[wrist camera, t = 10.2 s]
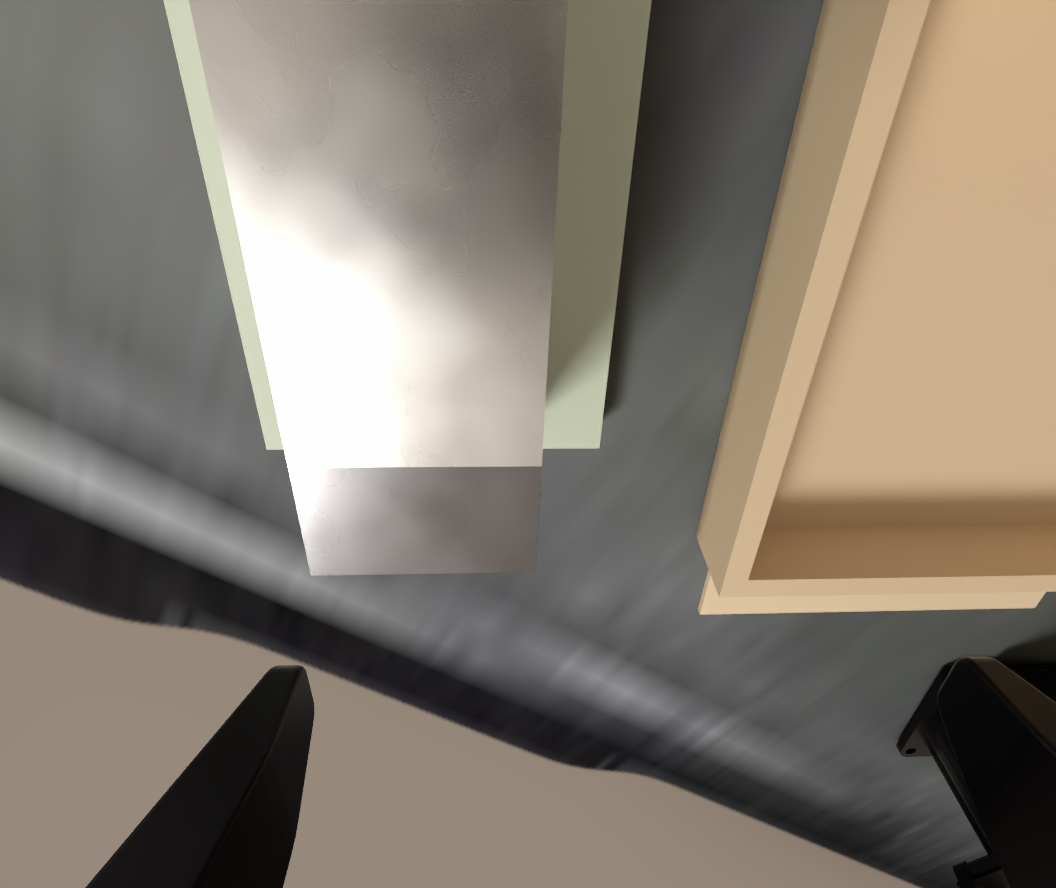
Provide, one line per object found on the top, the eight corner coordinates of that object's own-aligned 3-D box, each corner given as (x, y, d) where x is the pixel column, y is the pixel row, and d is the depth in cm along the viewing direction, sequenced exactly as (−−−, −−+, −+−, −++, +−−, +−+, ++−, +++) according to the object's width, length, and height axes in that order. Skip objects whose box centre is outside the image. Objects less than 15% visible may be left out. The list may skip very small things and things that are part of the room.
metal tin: (522, 424, 20) (535, 572, 15) (352, 425, 20) (311, 575, 15) (540, -84, 13) (574, -107, 9) (280, -96, 13) (161, -127, 8)
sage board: (594, 426, 22) (599, 448, 21) (276, 427, 21) (266, 449, 20) (655, -145, 14) (669, -153, 13) (148, -172, 13) (122, -182, 12)
